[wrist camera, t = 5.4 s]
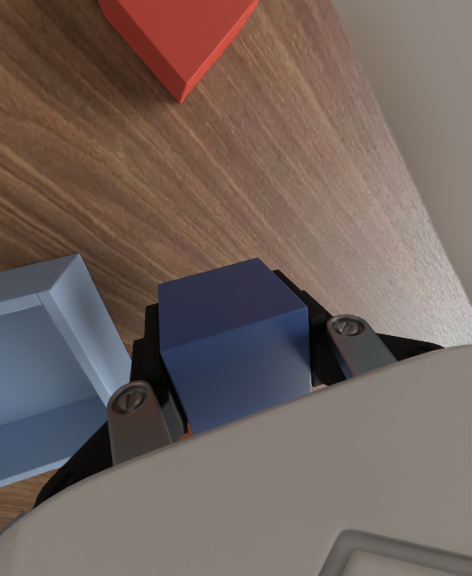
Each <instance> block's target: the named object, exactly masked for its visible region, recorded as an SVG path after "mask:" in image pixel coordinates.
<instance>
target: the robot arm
mask: <svg viewBox="0 0 472 576" xmlns="http://www.w3.org/2000/svg"><path fill="white" fill-rule="evenodd" d="M272 272H273V273H274V274H275V275H276V276H277V277H278V278H279V279H280V280H281V281H282V282H283V283H284V284H285V285H286V286H287V287H288V288H289V289H290V290H291V291H292V292H293V293H294V294H295V295H296V296H297V297H298V298H299V299H300V300H301V301H302V302H303V303H304V304H305V305H306V306H307V307H308V323H309V345H310V366H311V385H312V386H313V387H316V386H319V385H322V384H324V385H327V387H325V388H322V389H319V390H317V391H314V392H311V393H308V394H305V395H303V396H300V397H297V398H294V399H292V400H289V401H286V402H283V403H281V404H278V405H275V406H272V407H270V408H267V409H264V410H262V411H259V412H256V413H253V414H251V415H248V416H245V417H242V418H240V419H237V420H234V421H232V422H229V423H226V424H223V425H221V426H218V427H215V428H213V429H210V430H207V431H205V432H202V433H199V434H196V435H194V436H191V437H188V438H186V439H183V440H180V441H179V439H180V438H181V437H182V435H183V434H186V433H188V425H187V423H188V420H187V418H186V415H185V413H184V410H183V408H182V405H181V403H180V400H179V398H178V396H177V393H176V391H175V388H174V386H173V383H172V381H171V378H170V376H169V373H168V371H167V369H166V366H165V364H164V361H163V359H162V356H161V354H160V330H159V303H156V304H153V305H149V306H146V313H145V332H144V338H141V339H138V340H135V341H134V343H133V352H132V362H131V371H130V381H129V383H127V384H125V385H123V386H122V387H120V388H119V389H118V390H117V391H115V392H114V393H113V395H112V396H111V397H110V399H109V401H108V403H107V409H106V411H107V419H108V420H107V421H106V422H105V423H104V424H103V425H102V426H101V427H100V428H99V429H98V430H97V431H96V432H95V433H94V434H93V435H92V436H91V437H90V438H89V439H88V440H87V441H86V442H85V444H84V445H83V446H82V447H81V448H80V449H79V450H78V451H77V452H76V453H75V454H74V455H73V456H72V457H71V458H70V459H69V460H68V461H67V462H66V463H65V464H64V465H63V466H62V467H61V468H60V469H59V470H58V471H57V472H56V473H55V474H54V475H53V476H52V477H51V478H50V480H49V481H48V482H47V483H46V484H45V486H44V487H43V488H42V490H41V491H40V493H39V495H38V497H37V499H36V502H35V505H34V508H33V509H32V510H31V511H30V512H28V513H27V514H26V513H25V512H24V511H23V512H22V513H21V514H19V515H18V516H17V517H16V518H15V519H14V520H13V521H12V522H10V523H9V524H8V525H7V526H6V527H5V528H4V529H3V530H2V531H0V576H472V345H462V346H454V347H448V348H444V347H442V346H440V345H437V344H434V343H430V342H424V341H419V340H413V339H407V338H402V337H396V336H390V335H385V334H379V333H375V332H374V331H373V329H372V328H371V327H370V325H369V324H368V323H367V322H366V321H365V320H364V319H362V318H360V317H357V316H354V315H347V314H346V315H338V316H334V317H333V316H332V315H331V314H330V313H329V312H328V311H326V310H325V309H324V308H323V307H322V306H321V305H320V304H319V303H318V302H317V301H316V300H314V299H313V298H312V297H311V296H310V295H309V294H308V293H307V292H306V291H304V290H302V291H301V290H300V289H299V288H298V287H297V286H296V285H295V284H294V283H292V282H291V281H290V280H289V279H288V278H287V277H286V276H285V275H284V274H283V273H282V272H281V271H280V270H278V269H277V270H274V271H272Z"/></svg>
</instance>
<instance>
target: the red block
mask: <svg viewBox="0 0 472 576" xmlns="http://www.w3.org/2000/svg"><path fill="white" fill-rule="evenodd" d="M98 2H99V5H100V7H101V9H102V12H103V14H104V17H105V18H106V19H107V20H108V21H109V23H110V24H111V25H112V26H113V27H114V28H115V30H116V31H117V32H118V33H119V34H120V35H121V36H122V38H123V39H124V40H125V41H126V42H127V43H128V45H129V46H130V47H131V48H132V49H133V50H134V51H135V53H136V54H137V55H138V56H139V57H140V58H141V60H142V61H143V62H144V63H145V64H146V65H147V66H148V68H149V69H150V70H151V71H152V72H153V73H154V75H155V76H156V77H157V78H158V79H159V80H160V81H161V83H162V84H163V85H164V86H165V87H166V88H167V90H168V91H169V92H170V93H171V94H172V95H173V96H174V98H175V99H176V100H177V101H178V102H179V103H181V102H182V101H183V100H184V98H185V97H186V96H187V95H188V94H189V92H190V91H191V90H192V89H193V87H194V86H195V85H196V84H197V83H198V81H199V80H200V79H201V78H202V77H203V75H204V74H205V73H206V72H207V71H208V69H209V68H210V67H211V66H212V64H213V63H214V62H215V61H216V60H217V58H218V57H219V56H220V55H221V54H222V52H223V51H224V50H225V49H226V48H227V46H228V45H229V44H230V43H231V42H232V40H233V39H234V38H235V37H236V35H237V34H238V33H239V31H240V30H241V28H242V27H243V25H244V24H245V22H246V21H247V19H248V17H249V16H250V14H251V13H252V11H253V10H254V8H255V7H256V5H257V4H258V2H259V0H98Z"/></svg>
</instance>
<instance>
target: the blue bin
mask: <svg viewBox="0 0 472 576" xmlns="http://www.w3.org/2000/svg"><path fill="white" fill-rule="evenodd" d="M131 362H132V361H131V359H130V357H129V355H128V353H127V351H126V349H125V347H124V345H123V342H122V340H121V338H120V336H119V334H118V332H117V330H116V328H115V326H114V324H113V322H112V320H111V318H110V316H109V313H108V311H107V309H106V307H105V305H104V303H103V301H102V299H101V297H100V295H99V293H98V291H97V289H96V287H95V285H94V282H93V280H92V278H91V276H90V274H89V272H88V270H87V268H86V266H85V264H84V262H83V260H82V258H81V256H80V254H79V253H78V254H73V255H69V256H65V257H61V258H56V259H52V260H48V261H44V262H40V263H35V264H31V265H27V266H23V267H18V268H14V269H10V270H6V271H1V272H0V487H3V486H6V485H9V484H12V483H15V482H17V481H20V480H23V479H26V478H29V477H32V476H35V475H38V474H41V473H44V472H47V471H50V470H53V469H56V468H59V467H62V466H63V465H64V464H65V463H66V462H67V461H68V460H69V459H70V458H71V457H72V456H73V455H74V454H75V453H76V452H77V451H78V450H79V449H80V448H81V447H82V446H83V445H84V444H85V442H86V441H87V440H88V439H89V438H90V437H91V436H92V435H93V434H94V433H95V432H96V431H97V430H98V429H99V428H100V427H101V426H102V425H103V424H104V423H105V422H106V421H107V420H108V419H107V411H106V409H107V403H108V401H109V399H110V397H111V396H112V395H113V393H114V392H115V391H117V390H118V389H119V388H120V387H122V386H123V385H125V384H127V383H129V381H130V371H131Z"/></svg>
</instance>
